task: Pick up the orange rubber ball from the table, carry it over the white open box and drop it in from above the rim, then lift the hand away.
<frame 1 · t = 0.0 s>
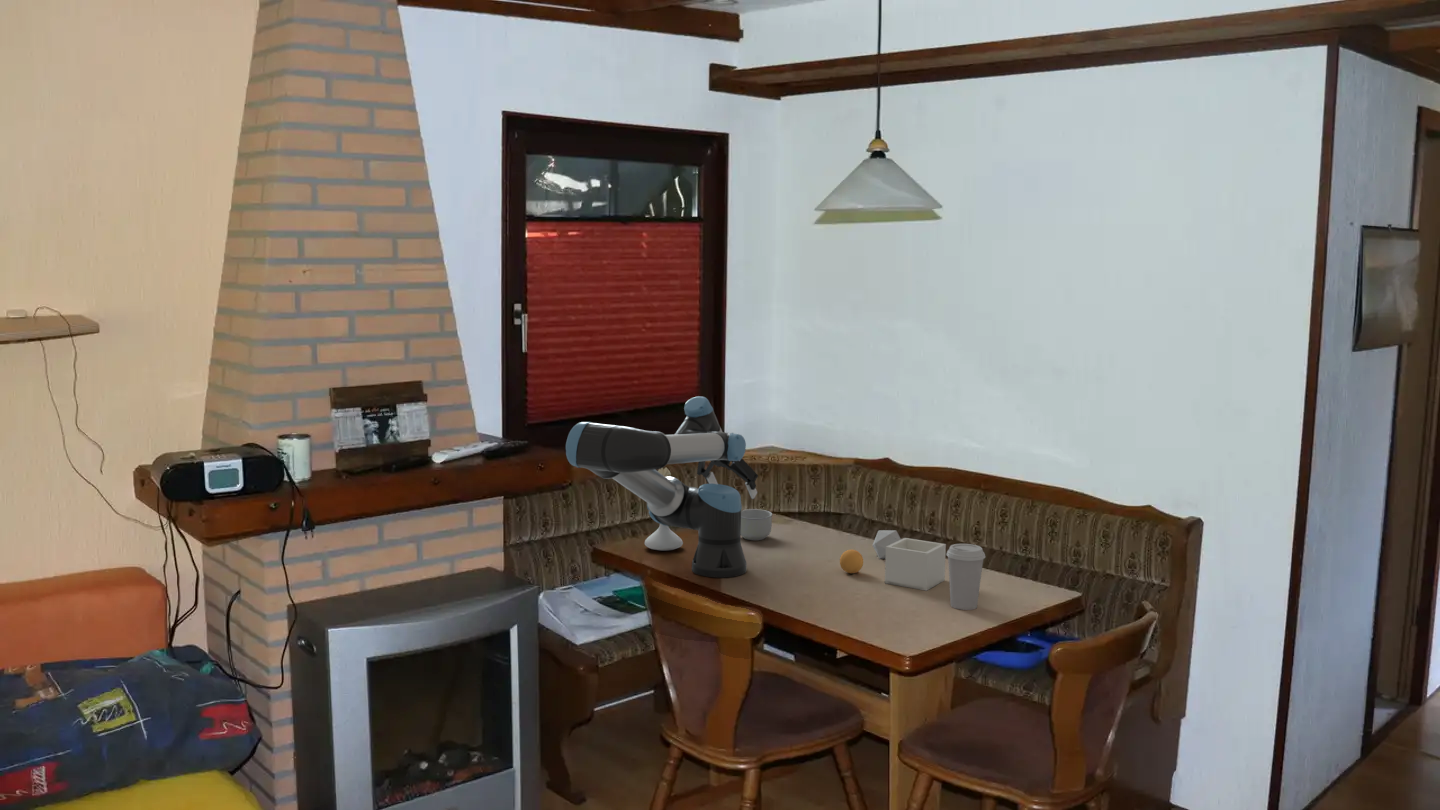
hand: (735, 492, 353), 15 cm above the table, tool tilted 35°, fingers open, 13 cm apart
coffee cup: (963, 606, 293), on the table
white open box: (914, 581, 314), on the table
die: (887, 558, 339), on the table
flower in vase: (664, 550, 346), on the table
teacup: (749, 538, 361), on the table
ball: (851, 572, 322), on the table
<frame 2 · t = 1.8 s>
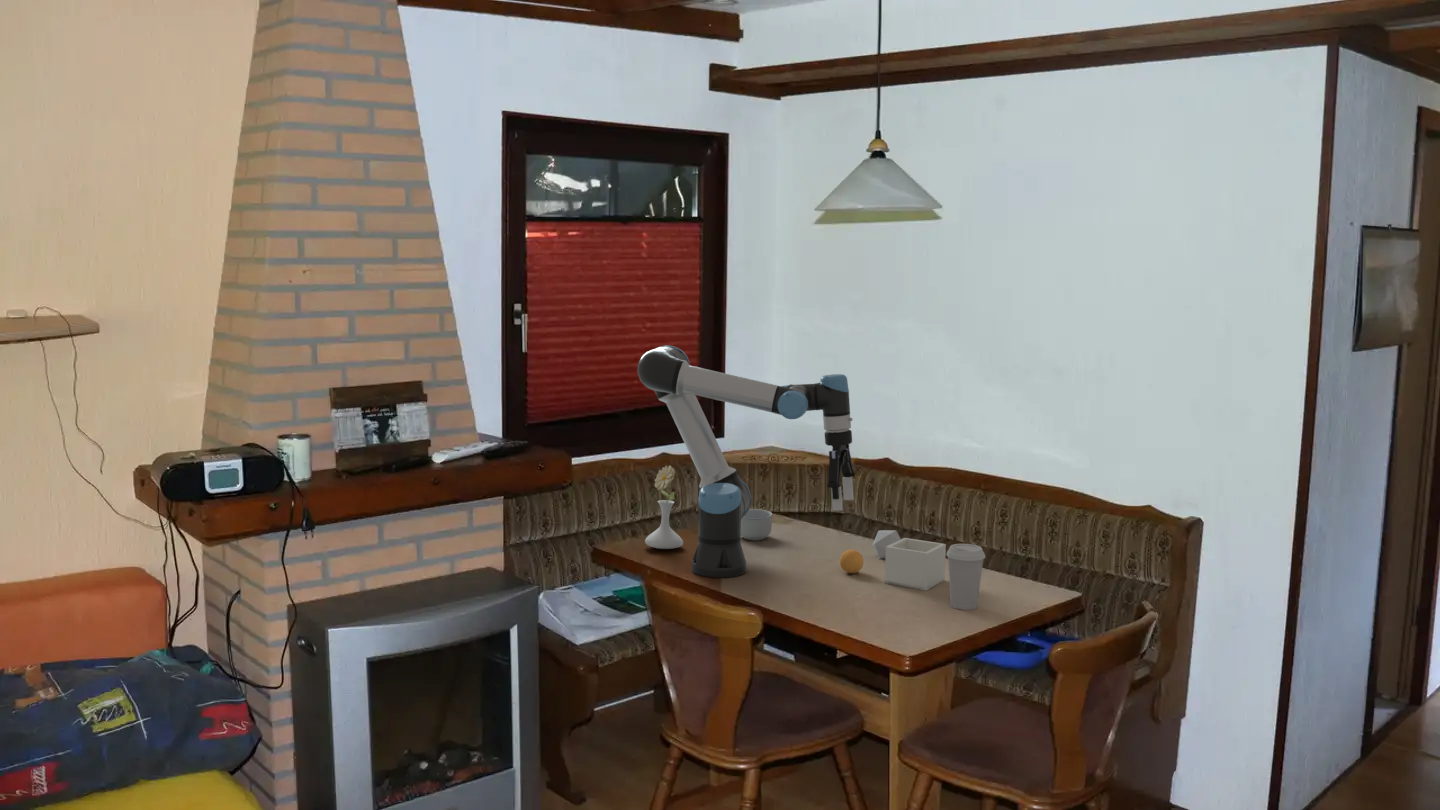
hand: (843, 505, 328), 17 cm above the table, tool pointing down, fingers open, 13 cm apart
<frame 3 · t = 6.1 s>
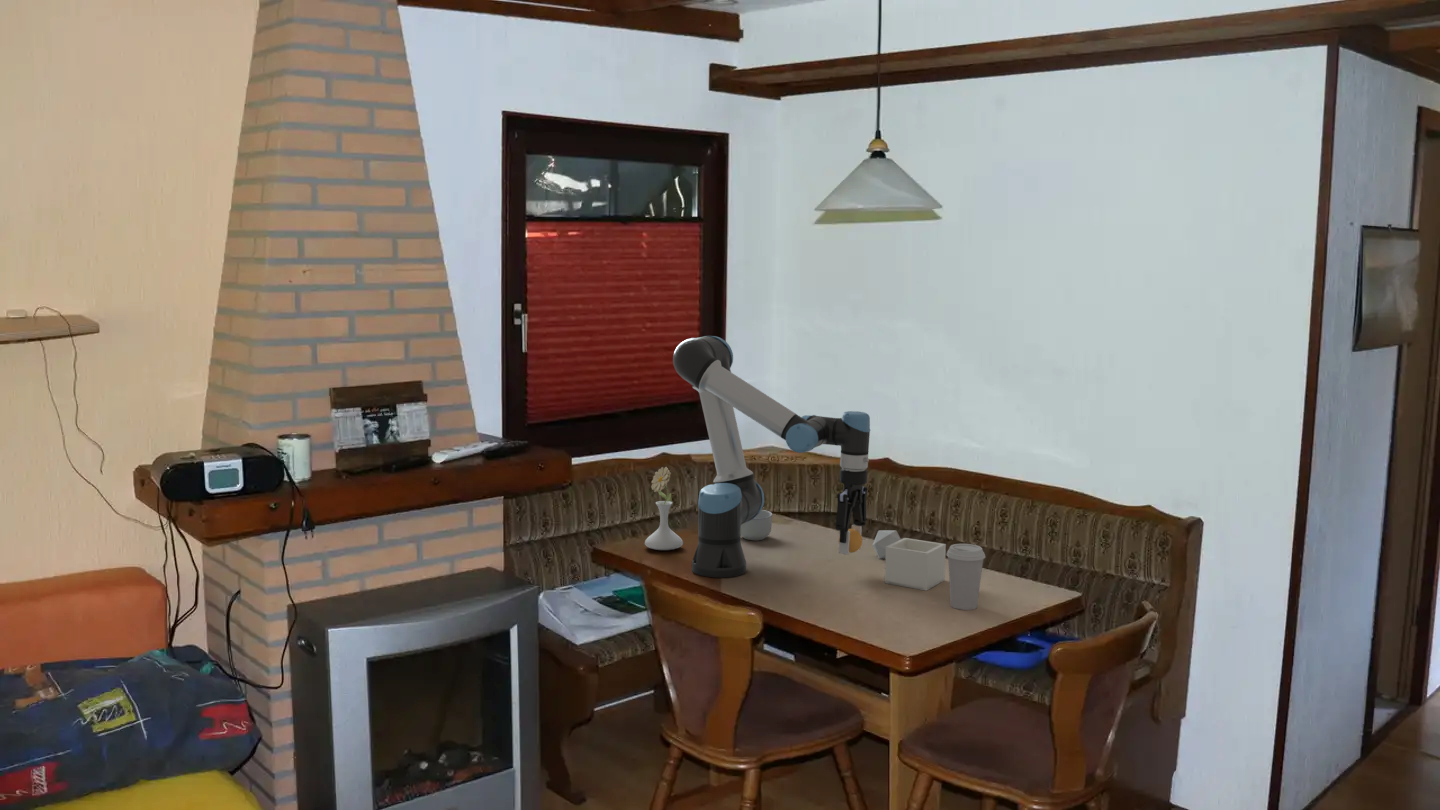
hand: (849, 550, 322), 6 cm above the table, tool pointing down, fingers closed on ball, 6 cm apart
ball: (849, 552, 322), point 6 cm above the table, touching gripper
when the fingers open (12 cm above the table, at t = 10.1 s): ball drops 10 cm and tips over, resting on white open box.
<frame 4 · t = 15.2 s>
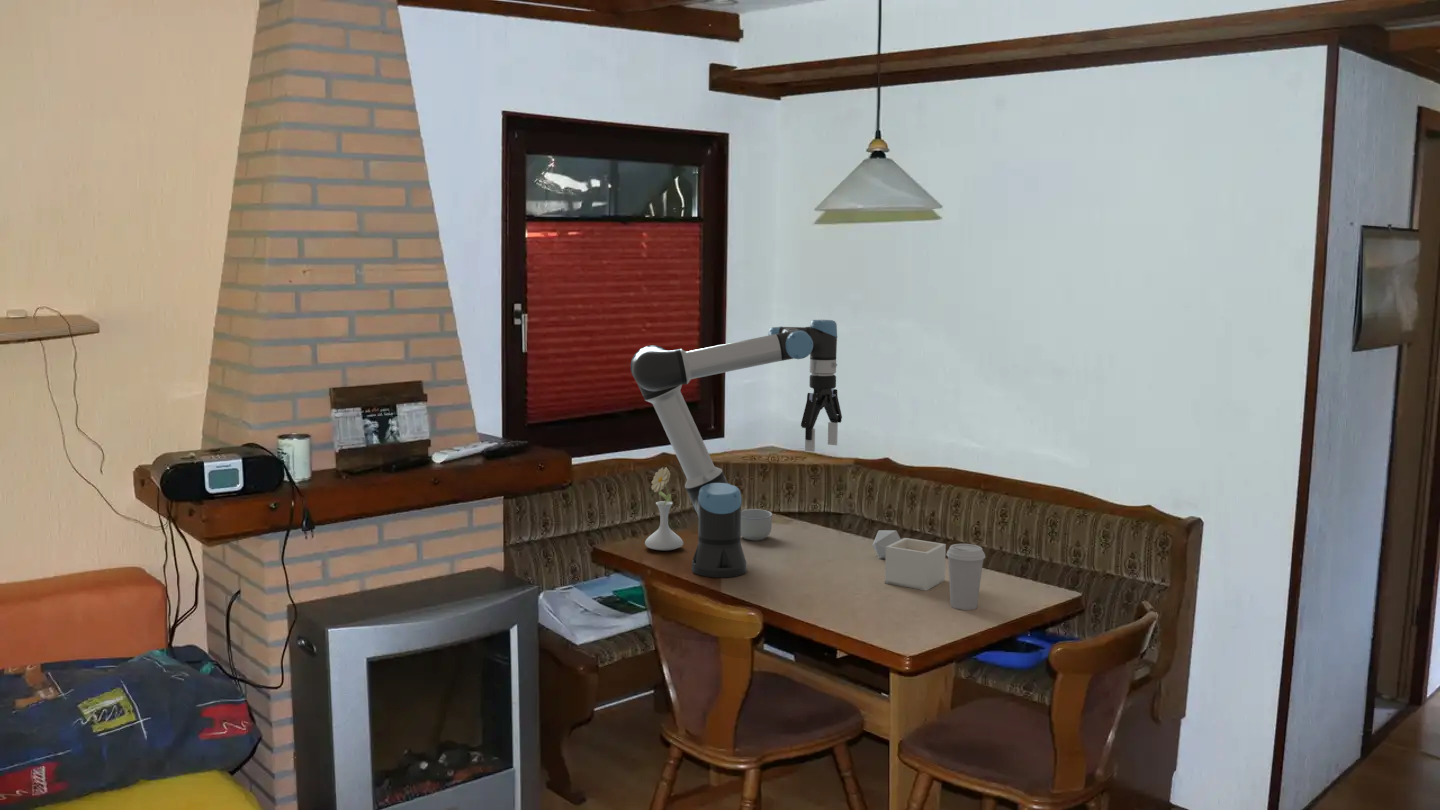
hand: (821, 448, 336), 32 cm above the table, tool pointing down, fingers open, 13 cm apart
ball: (915, 577, 314), point 1 cm above the table, tilted 33°, touching white open box
everything else where it was.
at the end: ball inside the target area on the white open box (0.1 cm from its centre), point 1.3 cm above the white open box's base; the gripper is holding nothing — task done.
